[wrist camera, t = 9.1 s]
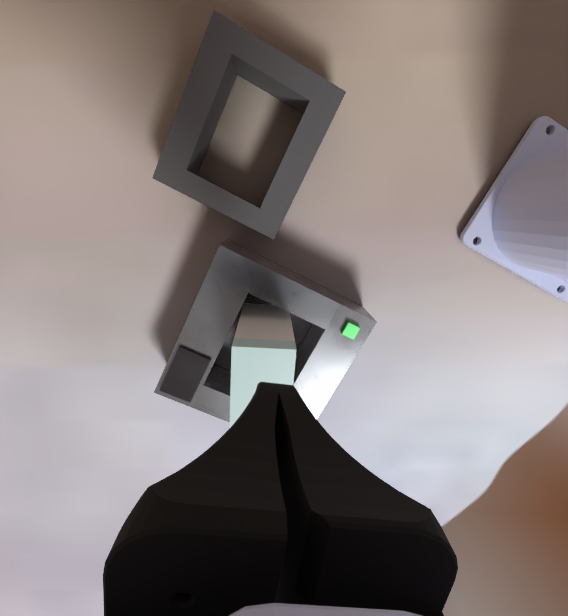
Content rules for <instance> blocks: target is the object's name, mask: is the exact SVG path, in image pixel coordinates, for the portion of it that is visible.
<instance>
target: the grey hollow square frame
mask: <svg viewBox="0 0 568 616" xmlns="http://www.w3.org/2000/svg"><path fill="white" fill-rule="evenodd" d="M237 75H239V76H240V77H242V78H244V79H246V80H247V81H249V82H251V83H252V84H254V85H256V86H257V87H259V88H261V89H262V90H264V91H266V92H268V93H269V94H271V95H273V96H274V97H276V98H278V99H279V100H281V101H283V102H284V103H286V104H288V105H289V106H291V107H293V108H295V109H296V110H298V111H300V112H301V113H303V117H302V119H301V121H300V123H299V125H298V127H297V130H296V132H295V134H294V136H293V138H292V140H291V142H290V145H289V147H288V149H287V151H286V153H285V155H284V158H283V160H282V162H281V164H280V166H279V168H278V170H277V173H276V175H275V177H274V179H273V181H272V183H271V186H270V188H269V190H268V192H267V194H266V196H265V198H264V201H263V203H262V205H261V207H258V206H256V205H254V204H252V203H250V202H248V201H246V200H244V199H242V198H240V197H239V196H237V195H235V194H233V193H231V192H229V191H227V190H225V189H223V188H221V187H219V186H218V185H216V184H214V183H212V182H210V181H208V180H206V179H204V178H202V177H200V176H198V175H197V173H198V171H199V168H200V166H201V163H202V161H203V158H204V156H205V153H206V151H207V148H208V146H209V143H210V141H211V138H212V136H213V133H214V131H215V128H216V126H217V123H218V121H219V119H220V116H221V114H222V111H223V109H224V106H225V104H226V101H227V99H228V96H229V94H230V91H231V89H232V86H233V84H234V81H235V79H236V76H237ZM345 93H346V92H345V91H344V90H342V89H341V88H339V87H337V86H336V85H334V84H332V83H331V82H329V81H328V80H326V79H324V78H323V77H321V76H320V75H318V74H316V73H315V72H313V71H311V70H310V69H308V68H307V67H305V66H303V65H302V64H300V63H299V62H297V61H295V60H294V59H292V58H291V57H289V56H287V55H286V54H284V53H282V52H281V51H279V50H278V49H276V48H274V47H273V46H271V45H270V44H268V43H266V42H265V41H263V40H261V39H260V38H258V37H257V36H255V35H253V34H252V33H250V32H249V31H247V30H245V29H244V28H242V27H240V26H239V25H237V24H236V23H234V22H232V21H231V20H229V19H228V18H226V17H224V16H223V15H221V14H220V13H218V12H216V11H215V10H214V11H213V14H212V17H211V20H210V22H209V25H208V28H207V31H206V33H205V36H204V39H203V41H202V44H201V47H200V50H199V52H198V55H197V58H196V60H195V63H194V66H193V69H192V71H191V74H190V77H189V80H188V82H187V85H186V88H185V90H184V93H183V96H182V99H181V101H180V104H179V107H178V110H177V112H176V115H175V118H174V120H173V123H172V126H171V129H170V131H169V134H168V137H167V140H166V142H165V145H164V148H163V150H162V153H161V156H160V159H159V161H158V164H157V167H156V170H155V172H154V175H153V178H154V179H155V180H157V181H159V182H161V183H163V184H165V185H167V186H169V187H171V188H173V189H175V190H177V191H179V192H181V193H183V194H185V195H187V196H189V197H191V198H193V199H195V200H197V201H199V202H201V203H203V204H205V205H207V206H208V207H210V208H212V209H214V210H216V211H218V212H220V213H222V214H224V215H226V216H228V217H230V218H232V219H234V220H236V221H238V222H240V223H242V224H244V225H246V226H248V227H250V228H252V229H254V230H256V231H258V232H259V233H261V234H263V235H265V236H267V237H269V238H271V239H273V240H274V238H275V236H276V234H277V232H278V230H279V228H280V226H281V224H282V222H283V220H284V218H285V216H286V214H287V212H288V210H289V208H290V205H291V203H292V201H293V199H294V197H295V195H296V193H297V191H298V189H299V187H300V185H301V183H302V181H303V179H304V177H305V175H306V173H307V171H308V169H309V167H310V164H311V162H312V160H313V158H314V156H315V154H316V152H317V150H318V148H319V146H320V144H321V142H322V140H323V138H324V136H325V134H326V132H327V130H328V128H329V126H330V123H331V121H332V119H333V117H334V115H335V113H336V111H337V109H338V107H339V105H340V103H341V101H342V99H343V97H344V95H345Z"/></svg>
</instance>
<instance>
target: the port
mask: <svg viewBox="0 0 568 616" xmlns="http://www.w3.org/2000/svg"><path fill="white" fill-rule="evenodd" d="M248 293H249V294H251V295H253V296H255V297H258V298H260V299H262V300H264V301H266V302H268V303H270V304H272V305H274V306H277V307H279V308H281V309H283V310H285V311H287V312H289V313H291V314H294V315H296V316H298V317H300V318H302V319H304V320H306V321H308V322H310V323H313V324H312V326H311V328H310V330H309V331H308V333H307V335H306V337H305V338H304V340H303V342H302V344H301V346H300V347H299V349H298V351H297V353H296V361H295V372H294V383H293V385H294V387H295V388H296V390H297V391H298V393H299V394H300V396H301V398H302V399H303V401H304V402H305V404H306V405H307V407H308V408H309V410H310V411H311V413H312V414H313V415H314V417H315V418H316V419H317V418H318V417H319V415H320V413H321V412H322V410H323V408H324V407H325V405H326V404H327V402H328V400H329V399H330V397H331V395H332V394H333V392H334V391H335V389H336V387H337V386H338V384H339V382H340V381H341V379H342V378H343V376H344V374H345V373H346V371H347V370H348V368H349V366H350V365H351V363H352V361H353V360H354V358H355V357H356V355H357V353H358V352H359V350H360V348H361V347H362V345H363V344H364V342H365V340H366V339H367V337H368V336H369V334H370V332H371V331H372V329H373V327H374V326H375V324H376V323H377V322H376V321H375V320H374V318H373V317H372V316H371V315H370V314H369V313H368V312H367V311H366V310H365V309H364V308H363V307H362V306H360V305H358V304H356V303H354V302H352V301H350V300H348V299H346V298H344V297H342V296H340V295H338V294H336V293H334V292H332V291H330V290H327V289H325V288H323V287H321V286H319V285H317V284H315V283H313V282H311V281H309V280H307V279H305V278H303V277H301V276H299V275H297V274H295V273H293V272H291V271H289V270H287V269H285V268H283V267H281V266H279V265H277V264H275V263H273V262H271V261H269V260H267V259H265V258H263V257H261V256H259V255H257V254H255V253H253V252H251V251H249V250H247V249H245V248H243V247H241V246H239V245H237V244H235V243H233V242H231V241H229V240H226V241H224V242H223V243H221V244H220V245H219V247H218V250H217V252H216V254H215V256H214V259H213V261H212V263H211V265H210V268H209V270H208V272H207V274H206V277H205V279H204V281H203V283H202V286H201V288H200V290H199V292H198V295H197V297H196V299H195V301H194V304H193V306H192V308H191V310H190V313H189V315H188V317H187V319H186V322H185V324H184V326H183V328H182V331H181V333H180V335H179V337H178V340H177V342H176V344H175V346H174V349H173V351H172V353H171V355H170V358H169V360H168V362H167V364H166V367H165V369H164V371H163V373H162V376H161V378H160V380H159V382H158V385H157V387H156V389H155V391H154V393H157V394H159V395H162V396H164V397H167V398H169V399H172V400H175V401H177V402H180V403H182V404H185V405H187V406H190V407H192V408H195V409H197V410H200V411H202V412H205V413H207V414H210V415H212V416H215V417H218V418H220V419H223V420H225V421H228V422H230V387H231V371H230V370H227V369H225V368H223V367H220V366H218V365H216V364H214V362H215V360H216V358H217V356H218V354H219V352H220V350H221V348H222V346H223V344H224V342H225V340H226V338H227V335H228V333H229V331H230V329H231V327H232V325H233V323H234V321H235V319H236V317H237V315H238V313H239V311H240V309H241V307H242V305H243V303H244V301H245V299H246V297H247V295H248Z"/></svg>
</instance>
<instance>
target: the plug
mask: <svg viewBox="0 0 568 616" xmlns="http://www.w3.org/2000/svg"><path fill="white" fill-rule="evenodd" d="M296 350H297V349H296V344H295V338H294V333H293V327H292V321H291V316H290V313H289V312H287V311H285V310H283V309H281V308H279V307H277V306H274V305H265V304H248V303H244V305H243V308H242V312H241V315H240V319H239V322H238V326H237V329H236V333H235V336H234V340H233V343H232V349H231V387H230V424H229V429H230V428H231V426H232V425H233V424H234V423H235V422H236V420H237V419H238V418H239V416H240V415H241V414H242V413H243V411H244V410H245V408H246V407H247V405H248V404H249V402H250V400H251V399H252V397H253V395H254V393H255V391H256V388H257V384H258V383H260V382H269V383H278V384H287V385H293V383H294V372H295V361H296Z"/></svg>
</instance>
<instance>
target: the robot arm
mask: <svg viewBox="0 0 568 616" xmlns="http://www.w3.org/2000/svg"><path fill="white" fill-rule="evenodd" d="M547 127H548V128H549V133H548V135H547V133H546V129H547ZM475 237H477V243H476V244H473V240H474V238H475ZM460 241H461V243H462V244H464V245H466V246H467V247H469V248H471V249H473V250H474V251H476V252H478V253H480V254H481V255H483V256H485V257H487V258H488V259H490V260H492V261H494V262H495V263H497V264H499V265H501V266H503V267H504V268H506V269H508V270H510V271H511V272H513V273H515V274H517V275H518V276H520V277H522V278H524V279H525V280H527V281H529V282H531V283H532V284H534V285H536V286H538V287H539V288H541V289H543V290H545V291H546V292H548V293H550V294H552V295H553V296H555V297H557V298H559V299H561V300H562V301H565V302H568V130H567V129H566V128H564V127H563V126H561V125H560V124H559V123H557V122H556V121H554V120H553V119H551V118H550V117H548V116H542V117H539V118H537V119H535V120H534V121H533V122H532V124H531V125H530V127H529V129H528V130H527V132H526V133H525V135H524V136H523V138H522V139H521V141H520V143H519V144H518V146H517V147H516V149H515V150H514V152H513V153H512V155H511V157H510V158H509V160H508V161H507V163H506V164H505V166H504V168H503V169H502V171H501V172H500V174H499V175H498V177H497V178H496V180H495V182H494V183H493V185H492V186H491V188H490V189H489V191H488V192H487V194H486V196H485V197H484V199H483V200H482V202H481V203H480V205H479V206H478V208H477V210H476V211H475V213H474V214H473V216H472V217H471V219H470V220H469V222H468V224H467V225H466V227H465V228H464V230H463V231H462V233H461V235H460ZM559 286H560V288H559V290H558V291H557V288H558V287H559ZM457 570H458V565H457V558H456V555H455V553H454V551H453V549H452V547H451V545H450V543H449V542H448V539H447V537H446V535H445V534H444V532H443V529H442V528H441V526H440V524H439V523H438V521H437V519H436V518H435V516H434V514H433V513H432V511H431V509H429V508H427V507H426V506H424V505H422V504H420V503H418V502H417V501H415V500H413V499H411V498H410V497H408V496H406V495H404V494H403V493H401V492H399V491H398V490H396V489H395V488H393V487H392V486H390V485H389V484H387V483H386V482H384V481H383V480H381V479H380V478H378V477H377V476H375V475H374V474H373V473H371V472H370V471H369V470H367V469H366V468H365V467H364V466H362V465H361V464H360V463H359V462H357V461H356V460H355V459H354V458H353V457H351V456H350V455H349V454H348V453H347V452H346V451H345V450H344V449H343V448H342V447H341V446H340V445H339V444H338V443H337V442H336V441H335V440H334V439H333V438H332V437H331V436H330V435H329V434H328V433H327V432H326V430H325V429H324V428H323V427H322V426H321V425H320V423H319V422H318V421H317V419H316V418H315V417H314V415H313V414H312V413H311V411H310V410H309V408H308V407H307V405H306V404H305V402H304V401H303V399H302V398H301V396H300V394H299V393H298V391H297V390H296V388H295V387H294V385H287V384H278V383H269V382H260V383H258V384H257V388H256V391H255V393H254V395H253V397H252V399H251V400H250V402H249V404H248V405H247V407H246V408H245V410H244V411H243V413H242V414H241V415H240V416H239V418H238V419H237V420H236V422H235V423H234V424H233V425H232V426H231V428H230V429H229V430H228V431H227V432H226V433H225V434H224V435H223V436H222V437H221V438H220V439H219V440H218V441H217V442H216V443H215V444H213V445H212V446H211V447H210V448H209V449H208V450H207V451H205V452H204V453H203V454H202V455H200V456H199V457H198V458H196V459H195V460H194V461H192V462H191V463H189V464H188V465H186V466H185V467H184V468H182V469H181V470H179V471H178V472H176V473H174V474H172V475H170V476H168V477H167V478H165V479H163V480H161V481H159V482H157V483H155V484H153V485H151V486H150V487H148V488H147V490H146V491H145V492H144V494H143V495H142V496H141V498H140V499H139V501H138V502H137V504H136V505H135V507H134V508H133V510H132V511H131V513H130V514H129V516H128V518H127V519H126V521H125V523H124V524H123V526H122V528H121V530H120V532H119V534H118V536H117V538H116V540H115V542H114V544H113V547H112V549H111V551H110V553H109V555H108V557H107V559H106V562H105V567H104V573H103V589H104V616H444V615H443V613H442V610H443V608H444V605H445V603H446V600H447V598H448V596H449V593H450V591H451V588H452V586H453V583H454V581H455V578H456V574H457Z"/></svg>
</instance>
